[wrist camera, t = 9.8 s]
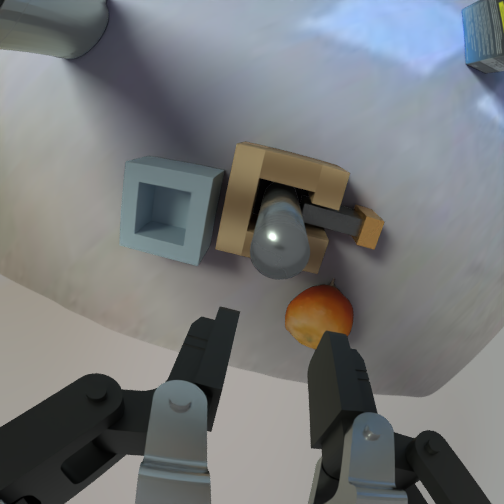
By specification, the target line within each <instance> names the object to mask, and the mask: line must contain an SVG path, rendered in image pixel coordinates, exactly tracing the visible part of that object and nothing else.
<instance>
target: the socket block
mask: <svg viewBox="0 0 504 504" xmlns="http://www.w3.org/2000/svg"><path fill="white" fill-rule="evenodd" d="M349 175H350V173H349V172H347V171H346V170H344V169H342V168H341V167H339V166H338V165H334V164H331V163H328V162H324V161H321V160H317V159H314V158H310V157H307V156H303V155H299V154H295V153H292V152H288V151H284V150H280V149H276V148H271V147H267V146H263V145H259V144H254V143H250V142H241V143H238V144H237V145H236V150H235V154H234V159H233V163H232V168H231V173H230V177H229V182H228V187H227V192H226V197H225V202H224V207H223V212H222V217H221V222H220V227H219V232H218V238H217V243H216V248H215V249H216V250H220V251H225V252H229V253H233V254H237V255H241V256H245V257H249V258H251V257H250V246H251V242H252V238H253V234H254V230H255V227H256V223H257V219H258V214H254V213H253V210H254V206H255V202H256V198H257V193H258V189H259V185H260V181H261V179H265V180H270V181H274V182H278V183H282V184H286V185H289V186H293V187H297V188H301V189H305V190H307V192H308V194H309V197H310V199H311V202H312V203H314V204H317V205H321V206H324V207H328V208H332V209H335V210H339V208H340V205H341V202H342V199H343V195H344V192H345V189H346V185H347V182H348V178H349ZM304 225H305V229H306V233H307V237H308V242H309V246H310V257H309V261H308V263H307V265H306V266H305V268H304V269H303V270H302V271H307V272H311V273H315V274H318V271H319V268H320V265H321V263H322V260H323V257H324V254H325V251H326V248H327V245H328V242H329V240H328V238H327V235H326V233H325V230H324V228H323V227H319V226H316V225H312V224H308V223H304Z"/></svg>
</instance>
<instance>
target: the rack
mask: <svg viewBox="0 0 504 504" xmlns="http://www.w3.org/2000/svg"><path fill="white" fill-rule="evenodd" d="M224 171H225V170H222V169H217V168H212V167H207V166H202V165H197V164H192V163H187V162H181V161H176V160H170V159H165V158H159V157H153V156H146V157H142V158H138V159H134V160H130V161H126V164H125V173H124V183H123V193H122V206H121V222H120V245H121V246H124V247H128V248H132V249H135V250H139V251H143V252H146V253H150V254H154V255H157V256H161V257H165V258H169V259H173V260H176V261H180V262H184V263H188V264H192V265H196V266H198V265H199V263H200V262H201V260H202V258H203V257H204V255H205V253H206V252H207V250H208V248H209V247H210V243H211V238H212V232H213V227H214V221H215V216H216V211H217V206H218V201H219V195H220V190H221V185H222V180H223V176H224Z"/></svg>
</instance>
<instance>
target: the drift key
mask: <svg viewBox="0 0 504 504" xmlns="http://www.w3.org/2000/svg"><path fill="white" fill-rule="evenodd" d="M300 208H301V212H302V216H303V220H304V223H308V224H312V225H316V226H319V227H323V228H327V229H331V230H334V231H338V232H342V233H345V234H349V235H351V236H352V238H353V239H354V241H355V243H356V244H357V245H360V246H364V247H367V248H371V249H375V247H376V244H377V241H378V239H379V236H380V233H381V230H382V228H383V225H384V221H383V220H382V219H381V218H380V217H379V216H378V215H377V214H376V213H375V212H374V211H373V210H372V209H369V208H366V207H363V206H359V205H355V208H354V209H351V208H347V207H344V206H341V205H340V208H339V210H335V209H332V208H328V207H324V206H321V205H317V204H314V203H312V202H311V199H310V197H309V196H305V195H302V197H301V200H300Z"/></svg>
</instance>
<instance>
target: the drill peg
mask: <svg viewBox="0 0 504 504" xmlns="http://www.w3.org/2000/svg"><path fill="white" fill-rule="evenodd" d="M250 257H251V261H252V263H253V265H254V266H255V268H256V269H257V270H258V271H259V272H260V273H261V274H263V275H265V276H267V277H269V278H272V279H288V278H291V277H293V276H295V275H297V274H299V273H300V272H301V271H302V270H303V269H304V268H305V266H306V265H307V263H308V261H309V257H310V246H309V242H308V237H307V233H306V229H305V225H304V220H303V216H302V212H301V208H300V204H299V200H298V196H297V192H296V190H295V188H294V187H293V186H289V185H286V184H282V183H278V182H273V183H271V184H270V185H269V186H268V187H267V188H266V190H265V192H264V196H263V200H262V204H261V208H260V211H259V215H258V219H257V223H256V227H255V230H254V234H253V238H252V242H251V246H250Z"/></svg>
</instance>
